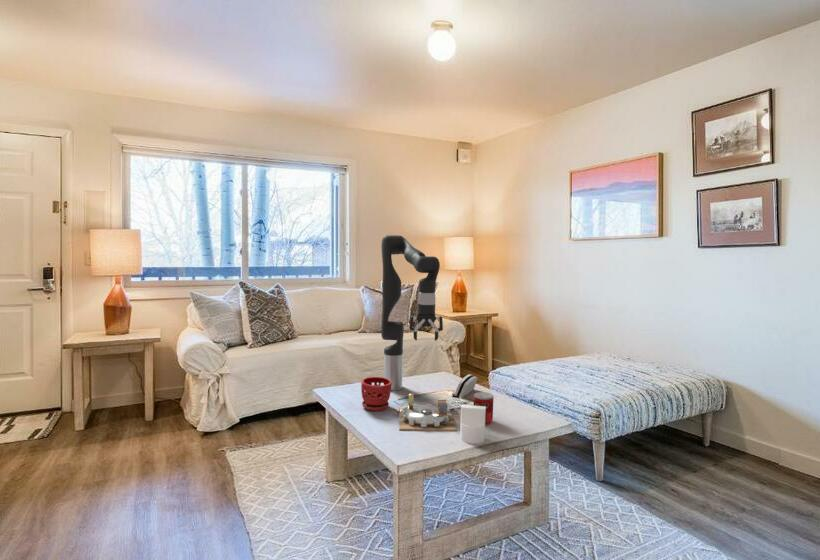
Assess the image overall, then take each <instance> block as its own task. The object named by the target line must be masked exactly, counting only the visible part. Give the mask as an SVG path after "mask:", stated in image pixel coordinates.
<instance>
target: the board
mask: <svg viewBox="0 0 820 560" xmlns="http://www.w3.org/2000/svg"><path fill="white" fill-rule="evenodd" d="M400 409H401V408H399V409H398V420H399V421H398V422H399V423H398V424H399V427H398V429H399V431H420V432H421V431H422V432H423V431H426V432H427V431H435V432H436V431H440V432H443V431H445V432H447V431H449V432H450V431H451V432H457V427H456V426H457V425H456V423H455V420H454V417H453V416H452V418H451V420H449V423H448V424H441V425H440V426H438V427H434V426H427V427H421V426H420V425H410V424H409V422H407V421H405V422H404V421H403V420H402V417H401V412H400V411H399V410H400ZM450 413H452V411H450Z"/></svg>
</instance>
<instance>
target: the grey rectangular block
mask: <svg viewBox="0 0 820 560" xmlns="http://www.w3.org/2000/svg"><path fill="white" fill-rule="evenodd" d="M437 406H438V413H439V415H447V409H448V403H447V400H445V399H438V400H437Z"/></svg>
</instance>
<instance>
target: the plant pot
mask: <svg viewBox="0 0 820 560" xmlns="http://www.w3.org/2000/svg"><path fill="white" fill-rule="evenodd" d="M391 386H392V382H391V380H389V379H387V378H384V376H383V377H381V376H369V377H365V378H363V379H362V380H361V385H360V387H361V388H360V389H361V396H362V397H361V398H362V400H363V401H362V402H361V406H362V407H363V408H364V409H365V410H367V411H372V412H373V411H379V412H380V411H383V410H385V409H387V408H388V407H389V404H390V402H389V399H390V398H391V397H390V396H391V392H392V390H391Z"/></svg>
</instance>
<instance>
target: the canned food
mask: <svg viewBox="0 0 820 560" xmlns="http://www.w3.org/2000/svg"><path fill="white" fill-rule="evenodd" d="M473 406H485V407H486V413H485V426H486V425H490V424H492V422H493V419H494V418H493V417H494V394H492V393H490V392H488V391H487V392H486V391H478V392H475V393H474V394H473Z"/></svg>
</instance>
